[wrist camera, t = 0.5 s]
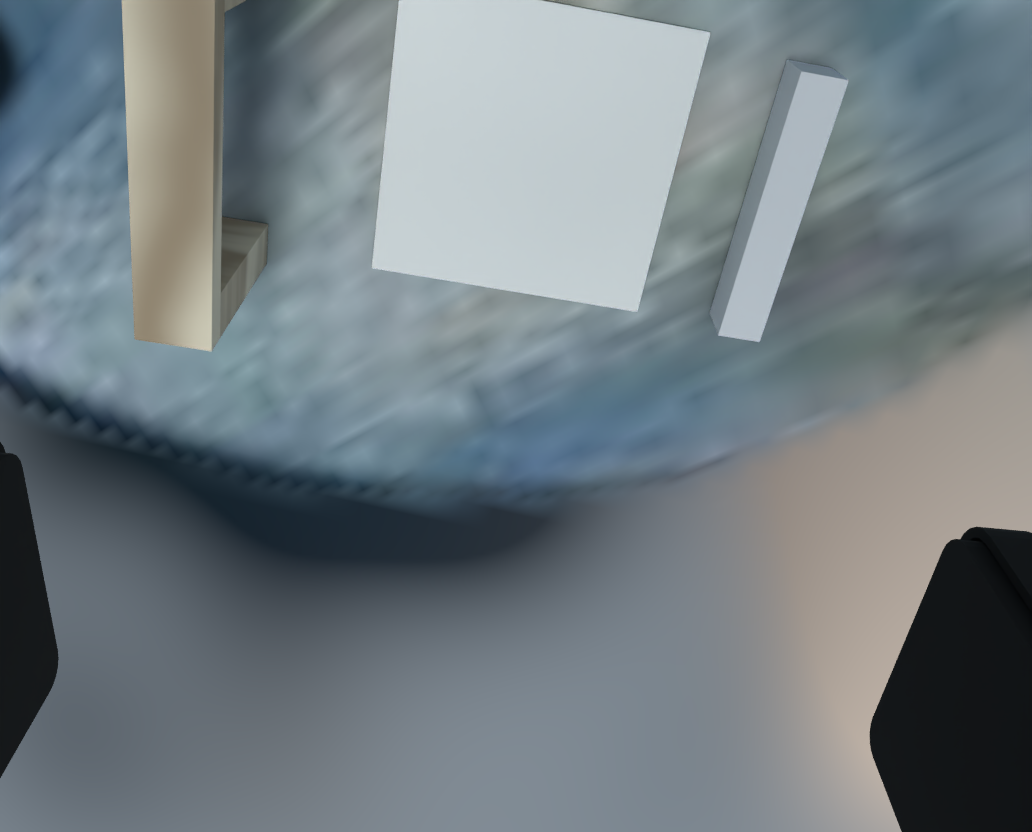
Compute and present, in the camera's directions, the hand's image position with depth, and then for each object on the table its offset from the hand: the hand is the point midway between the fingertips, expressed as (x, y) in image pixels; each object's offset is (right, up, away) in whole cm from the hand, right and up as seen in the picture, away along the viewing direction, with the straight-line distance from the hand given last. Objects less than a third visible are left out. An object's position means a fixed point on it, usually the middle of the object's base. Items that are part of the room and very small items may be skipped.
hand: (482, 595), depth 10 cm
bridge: (-12, +16, +32) cm, 37 cm away
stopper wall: (+12, +12, +34) cm, 38 cm away
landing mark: (+1, +14, +33) cm, 36 cm away
